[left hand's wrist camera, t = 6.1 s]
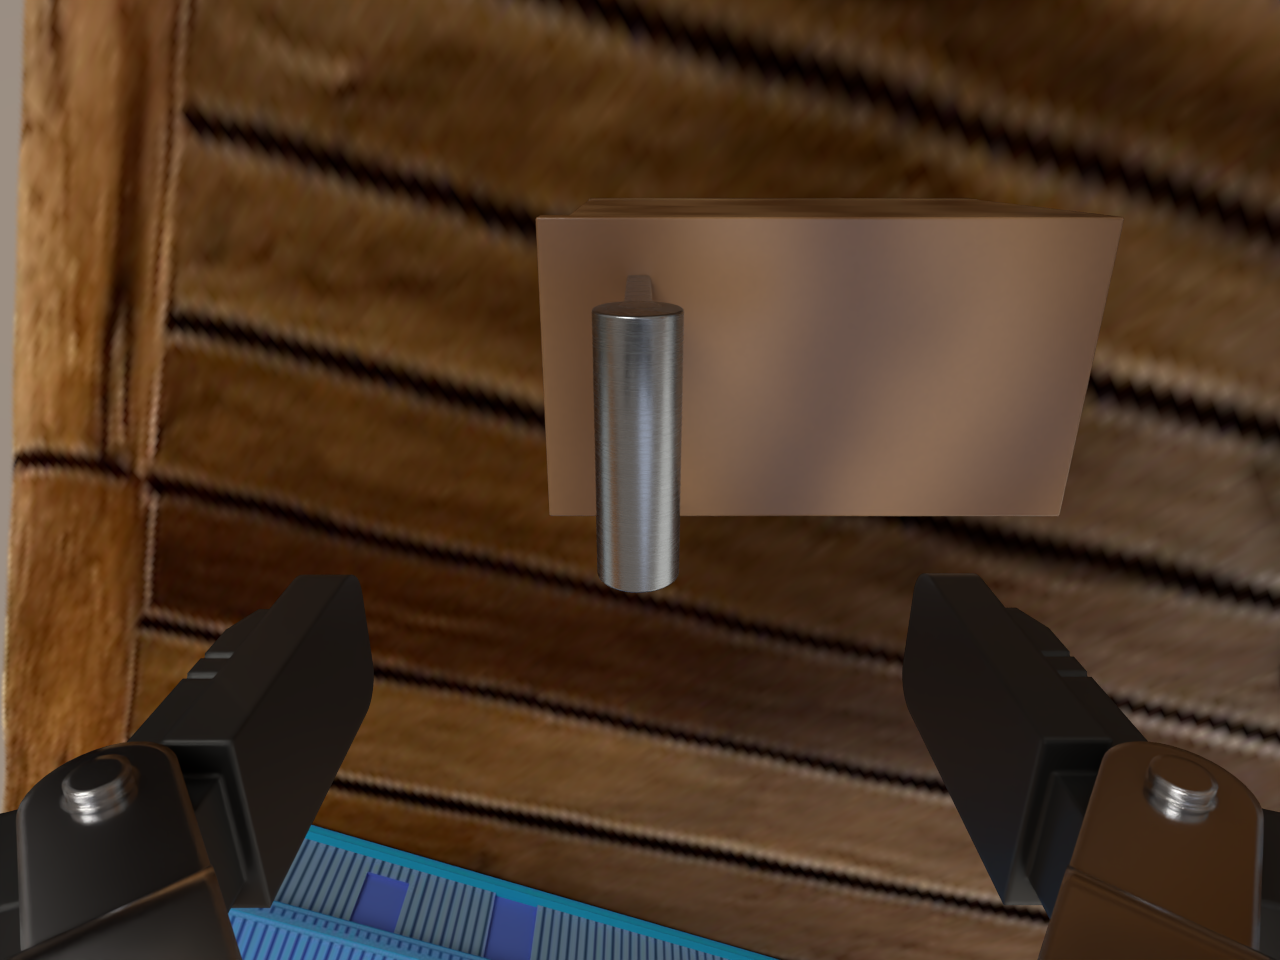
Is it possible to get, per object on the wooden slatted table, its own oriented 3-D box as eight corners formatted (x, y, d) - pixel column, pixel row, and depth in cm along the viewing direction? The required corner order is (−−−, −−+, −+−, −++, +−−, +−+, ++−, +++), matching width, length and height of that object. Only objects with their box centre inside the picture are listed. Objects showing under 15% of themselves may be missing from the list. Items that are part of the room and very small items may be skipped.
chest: (594, 411, 38) (577, 505, 27) (590, 198, 34) (568, 214, 24) (935, 411, 38) (1046, 505, 27) (966, 198, 34) (1108, 214, 24)
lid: (552, 505, 27) (516, 646, 20) (538, 214, 24) (487, 241, 16) (1047, 506, 27) (1212, 646, 19) (1108, 215, 24) (1341, 242, 16)
